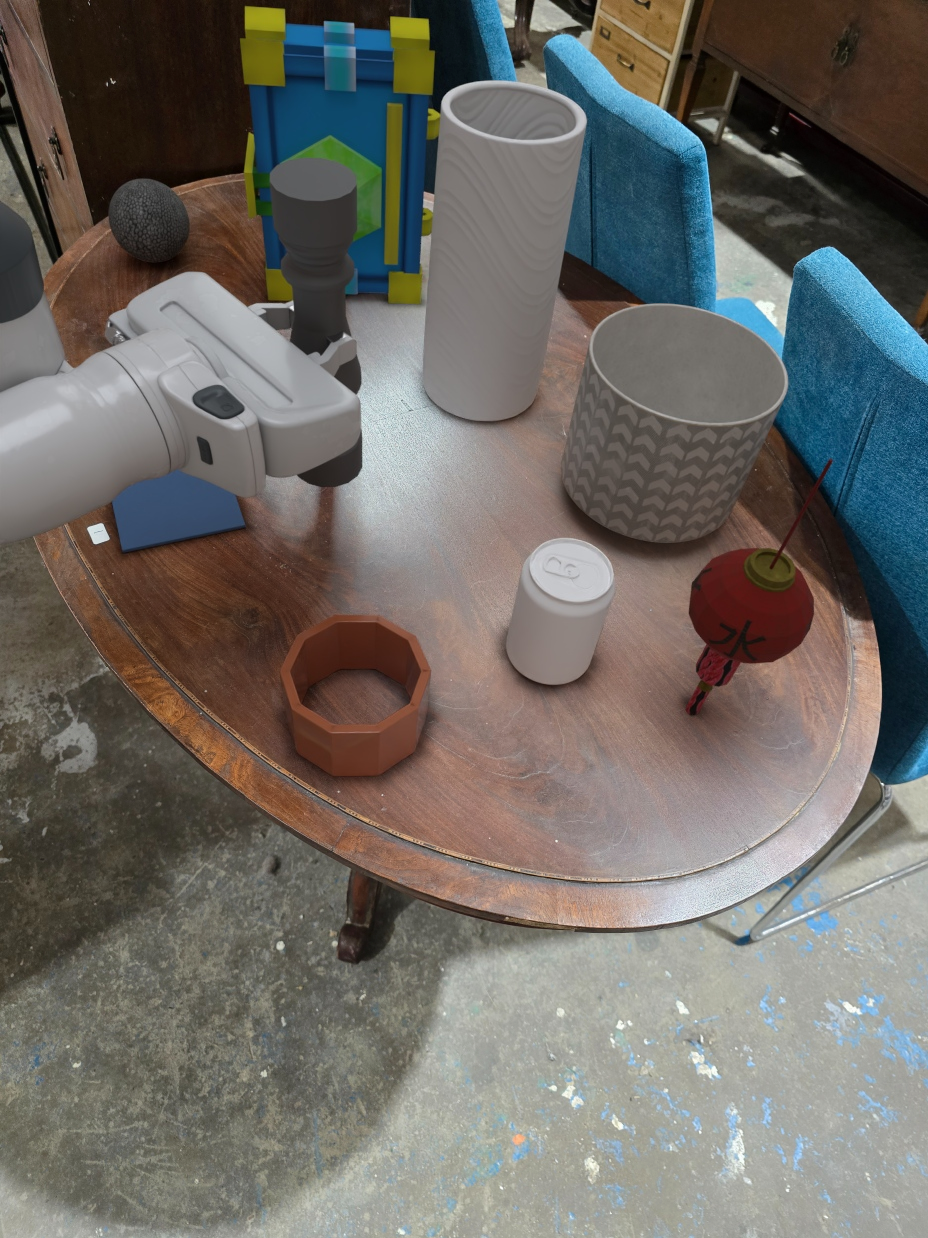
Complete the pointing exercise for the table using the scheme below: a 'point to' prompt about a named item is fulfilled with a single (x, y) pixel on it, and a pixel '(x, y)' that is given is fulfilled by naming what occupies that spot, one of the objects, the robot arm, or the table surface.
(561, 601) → the beverage can
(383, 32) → the decorative book
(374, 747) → the terracotta pot
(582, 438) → the planter
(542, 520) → the table surface
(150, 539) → the blue cloth
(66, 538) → the table surface
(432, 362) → the vase
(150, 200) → the decorative ball
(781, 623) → the lantern
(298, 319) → the candle holder
